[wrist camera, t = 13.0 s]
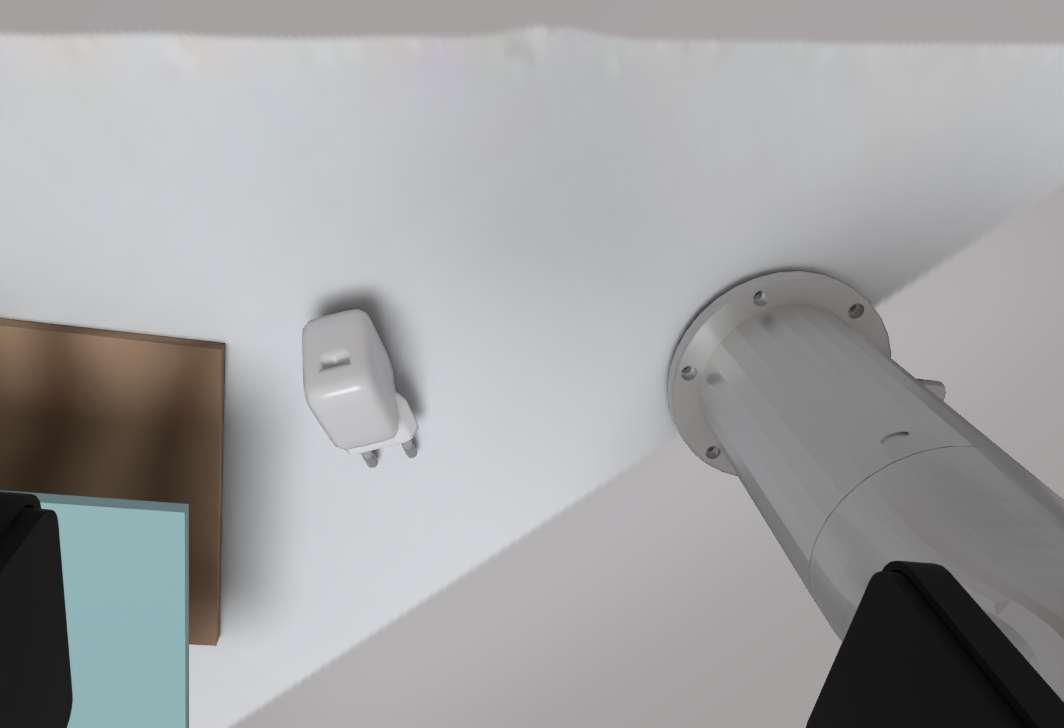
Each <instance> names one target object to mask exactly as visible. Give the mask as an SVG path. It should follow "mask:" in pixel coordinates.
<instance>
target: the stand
mask: <svg viewBox="0 0 1064 728" xmlns="http://www.w3.org/2000/svg"><path fill="white" fill-rule="evenodd" d="M224 375H225V343H216V342H207V341H198V340H189V339H180V338H171V337H162V336H153V335H144V334H135V333H126V332H117V331H108V330H99V329H90V328H81V327H72V326H63V325H54V324H45V323H36V322H27V321H18V320H9V319H0V490H3V491H16V492H30V493H44V494H57V495H71V496H85V497H98V498H112V499H126V500H140V501H153V502H167V503H181V504H189V644H194V645H214V646H216V645H217V642H218V639H219V636H220V584H221V532H222V479H223V427H224Z"/></svg>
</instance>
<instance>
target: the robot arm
mask: <svg viewBox="0 0 1064 728" xmlns="http://www.w3.org/2000/svg"><path fill="white" fill-rule="evenodd" d="M758 291H759V294H758V295H757V296H754V295H755V294H756V293H757V292H758ZM687 366H688V368H687V369H685V370H683V369H684V368H685V367H687ZM667 391H668V402H669V409H670V412H671V415H672V418H673V421H674V424H675V426H676V427H677V429H678V431H679V433H680V435H681V437H682V439H683V440H684V441H685V443H686V444H687V445H688V447H689V448H690V449H691V450H692V452H693V453H694V454H695V455H697V456H698V457H699V458H700V459H701V460H702V461H704V462H705V463H706V464H708V465H710V466H712V467H714V468H716V469H718V470H720V471H722V472H725V473H729V474H732V475H736V476H738V477H739V479H740V480H741V482H742V484H743V485H744V487H745V488H746V490H747V491H748V493H749V495H750V496H751V498H752V500H753V501H754V503H755V505H756V506H757V508H758V510H759V511H760V513H761V514H762V516H763V518H764V519H765V521H766V523H767V524H768V526H769V527H770V529H771V531H772V532H773V534H774V536H775V537H776V539H777V540H778V542H779V544H780V545H781V547H782V549H783V550H784V552H785V554H786V555H787V557H788V558H789V560H790V562H791V563H792V565H793V566H794V568H795V570H796V571H797V573H798V575H799V576H800V578H801V580H802V581H803V583H804V584H805V586H806V588H807V589H808V591H809V593H810V594H811V596H812V597H813V599H814V601H815V602H816V603H817V605H818V607H819V608H820V610H821V612H822V613H823V615H824V616H825V618H826V619H827V621H828V623H829V625H830V626H831V628H832V629H833V631H834V632H835V633H836V635H837V636H838V637H839V639H840V640H841V641H842V645H841V647H840V649H839V652H838V654H837V656H836V658H835V661H834V663H833V665H832V667H831V670H830V672H829V674H828V677H827V679H826V681H825V684H824V686H823V688H822V690H821V693H820V695H819V697H818V700H817V702H816V704H815V706H814V709H813V711H812V713H811V715H810V718H809V720H808V722H807V726H806V728H1064V499H1062V498H1061V497H1060V496H1059V495H1057V494H1056V493H1055V492H1054V491H1052V490H1051V489H1050V488H1049V487H1047V486H1046V485H1045V484H1044V483H1042V482H1041V481H1040V480H1039V479H1037V478H1036V477H1035V476H1034V475H1033V474H1031V473H1030V472H1029V471H1028V470H1026V469H1025V468H1024V467H1022V466H1021V465H1020V464H1019V463H1018V462H1017V461H1015V460H1014V459H1013V458H1012V457H1010V456H1009V455H1008V454H1007V453H1006V452H1004V451H1003V450H1002V449H1001V448H1000V447H998V446H997V445H996V444H995V443H993V442H992V441H991V440H990V439H989V438H987V437H986V436H985V435H984V434H982V433H981V432H980V431H979V430H978V429H976V428H975V427H974V426H973V425H972V424H970V423H969V422H968V421H967V420H965V419H964V418H963V417H962V416H961V415H959V414H958V413H957V412H956V411H954V410H953V409H952V408H951V407H949V406H948V405H947V404H946V403H945V402H943V400H944V398H945V393H946V392H945V387H944V385H943V384H942V383H941V382H939V381H932V380H923V379H915V378H914V377H913V376H912V375H911V374H909V373H908V372H907V371H905V370H904V369H903V368H902V367H901V366H900V365H898V364H897V363H896V362H895V361H893V360H892V359H891V350H890V344H889V339H888V333H887V331H886V329H885V326H884V324H883V322H882V319H881V318H880V316H879V314H878V313H877V312H876V310H875V309H874V308H873V306H872V305H871V304H870V302H868V301H867V300H866V299H865V298H864V297H862V296H861V295H860V294H859V293H858V292H856V291H855V290H853V289H852V288H850V287H849V286H847V285H846V284H844V283H843V282H841V281H839V280H836V279H834V278H831V277H828V276H825V275H823V274H818V273H811V272H804V271H793V272H778V273H774V274H769V275H765V276H761V277H757V278H755V279H752V280H750V281H747V282H745V283H743V284H740V285H738V286H736V287H734V288H733V289H731V290H730V291H728V292H726V293H725V294H723V295H722V296H720V297H719V298H717V299H716V300H715V301H714V302H713V303H711V304H710V305H709V306H708V307H707V308H706V309H705V310H704V311H703V312H701V313H700V314H699V316H698V317H697V318H696V319H695V321H694V322H693V323H692V324H691V326H690V327H689V328H688V329H687V331H686V332H685V334H684V336H683V338H682V340H681V341H680V343H679V345H678V347H677V349H676V351H675V354H674V357H673V360H672V363H671V366H670V370H669V378H668V387H667ZM72 703H73V693H72V680H71V668H70V656H69V644H68V632H67V620H66V608H65V596H64V584H63V572H62V560H61V548H60V536H59V523H58V517H57V514H56V513H55V511H53V510H51V509H41V504H40V501H39V499H38V497H37V496H35V495H33V494H29V493H16V492H3V491H0V728H67V726H68V723H69V719H70V715H71V711H72Z"/></svg>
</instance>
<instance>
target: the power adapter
mask: <svg viewBox="0 0 1064 728" xmlns="http://www.w3.org/2000/svg"><path fill="white" fill-rule="evenodd" d="M302 352H303V382H304V392H305V398H306V400H307V403H308V405H309V407H310V409H311V411H312V412H313V414H314V416H315V417H316V419H317V420H318V422H319V423H320V425H321V426H322V428H323V429H324V431H325V432H326V434H327V435H328V437H329V438H330V440H331V441H332V442H333V444H334V445H335V446H336V447H339V448H341V449H344V450H346V451H347V452H348V453H349V454H359V453H361V454H362V456H363V458H364V460H365V462H366V463H367V465H368V466H369V467H371V468H373V467H376V466H377V464H378V460H377V458H376V456H375V455H374V453H373V451H372V450H376V449H380V448H384V447H388V446H392V445H396V444H400V443H401V444H402V446H403V449H404V451H405V453H406V455H407V456H408V457H409V458H413V457H415V456H416V455H417V450H416V448H415V446H414V444H413V442H412V441H411V439H412V438H413V437H414V435H415V433H416V431H417V430H418V424H417V421H416V419H415V417H414V415H413V413H412V411H411V409H410V407H409V405H408V403H407V401H406V400H405V399H404V398H403V397H402V396H401V395H400V394H398V393H397V392H395V383H394V375H393V369H392V364H391V362H390V359H389V357H388V355H387V352H386V350H385V348H384V346H383V344H382V342H381V340H380V337H379V335H378V333H377V331H376V329H375V327H374V325H373V323H372V321H371V319H370V317H369V316H368V314H367V313H366V312H364V311H362V310H360V309H354V310H348V311H343V312H339V313H335V314H331V315H326V316H323V317H319V318H316V319H313V320H310V321H308V323H307V324H306V325H305V327H304V328H303V335H302Z"/></svg>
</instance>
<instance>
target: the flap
mask: <svg viewBox="0 0 1064 728" xmlns="http://www.w3.org/2000/svg"><path fill="white" fill-rule="evenodd" d="M0 491H3V490H0ZM3 492H16V491H3ZM16 493H29V494H33V495H35V496H37V497H38V499H39V501H40V504H41V509H51V510H53V511H55V513H56V514H57V517H58V523H59V536H60V548H61V560H62V572H63V584H64V596H65V608H66V620H67V632H68V644H69V656H70V668H71V680H72V693H73V703H72V711H71V715H70V719H69V723H68V726H67V728H189V504H181V503H167V502H153V501H140V500H126V499H112V498H98V497H85V496H71V495H57V494H44V493H30V492H16Z"/></svg>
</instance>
